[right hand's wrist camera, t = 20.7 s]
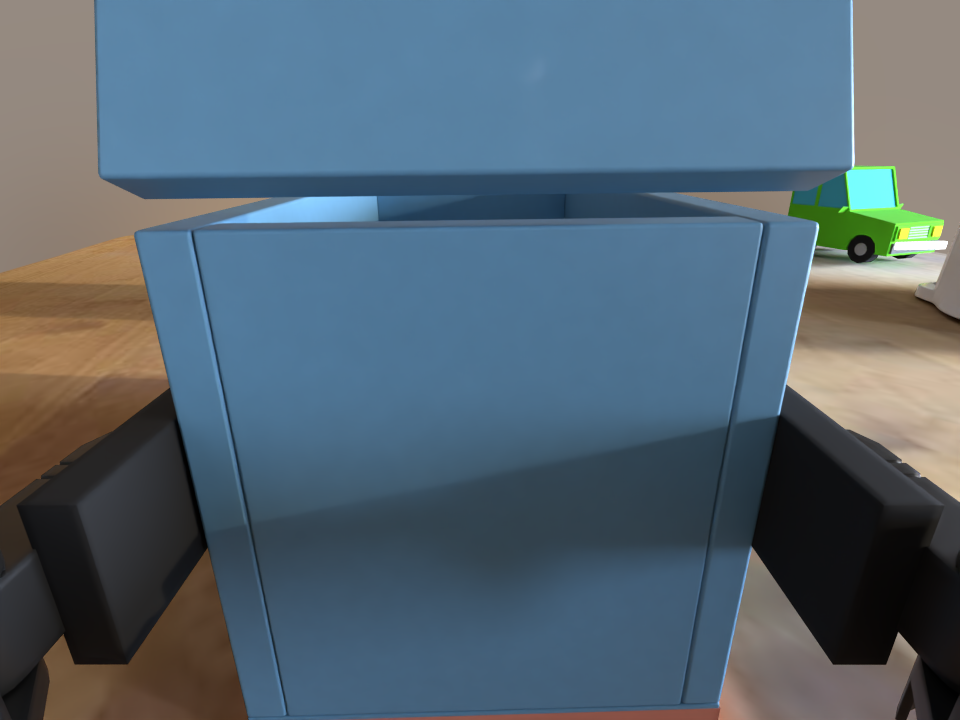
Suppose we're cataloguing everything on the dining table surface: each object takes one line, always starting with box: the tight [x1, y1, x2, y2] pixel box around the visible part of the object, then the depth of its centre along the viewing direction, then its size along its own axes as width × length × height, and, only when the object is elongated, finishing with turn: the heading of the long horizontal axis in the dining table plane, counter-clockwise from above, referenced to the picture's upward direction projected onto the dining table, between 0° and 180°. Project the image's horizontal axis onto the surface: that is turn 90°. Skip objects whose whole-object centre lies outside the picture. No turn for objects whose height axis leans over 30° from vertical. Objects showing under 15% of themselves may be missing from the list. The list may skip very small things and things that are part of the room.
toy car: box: [788, 166, 944, 263], centre depth 63 cm, size 10×13×10 cm
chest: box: [134, 192, 819, 720], centre depth 18 cm, size 18×10×11 cm, turn 1°
